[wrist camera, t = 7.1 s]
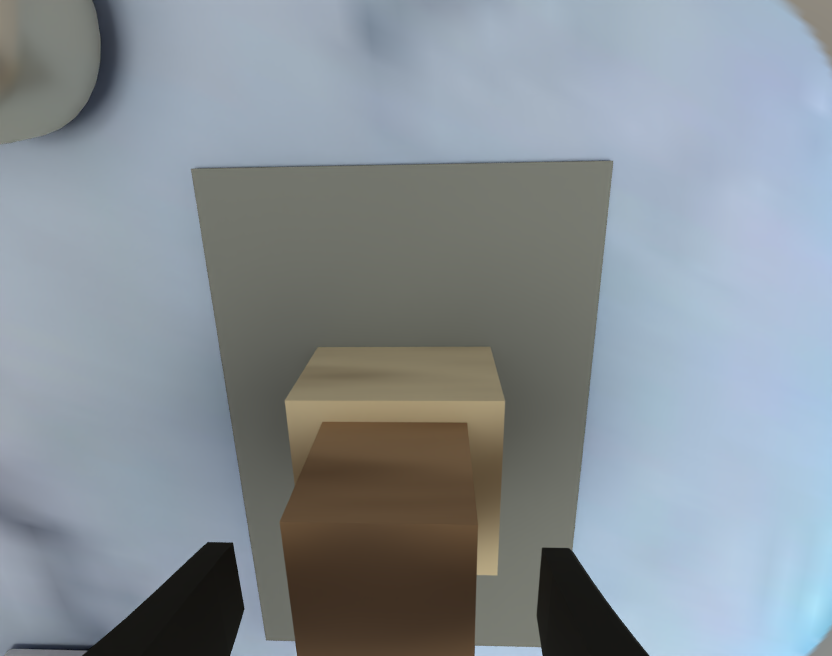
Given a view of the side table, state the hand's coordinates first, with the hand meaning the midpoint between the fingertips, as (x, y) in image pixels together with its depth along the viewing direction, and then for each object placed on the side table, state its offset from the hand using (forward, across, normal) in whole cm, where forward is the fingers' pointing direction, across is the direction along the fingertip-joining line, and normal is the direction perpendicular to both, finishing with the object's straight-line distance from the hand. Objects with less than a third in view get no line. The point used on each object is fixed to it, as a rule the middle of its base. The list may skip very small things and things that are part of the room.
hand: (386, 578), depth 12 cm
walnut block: (+3, 0, 0) cm, 3 cm away
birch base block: (+7, 0, 0) cm, 7 cm away
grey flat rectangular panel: (+7, 0, +1) cm, 7 cm away
